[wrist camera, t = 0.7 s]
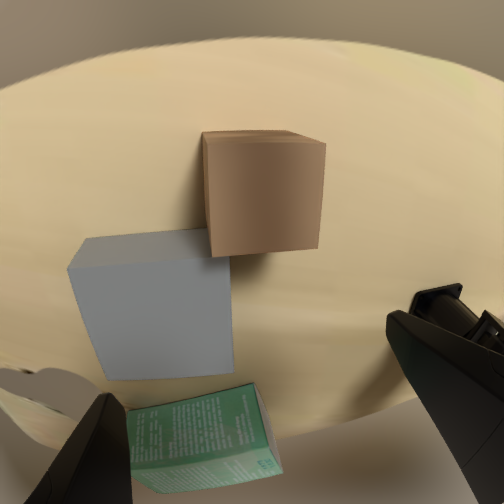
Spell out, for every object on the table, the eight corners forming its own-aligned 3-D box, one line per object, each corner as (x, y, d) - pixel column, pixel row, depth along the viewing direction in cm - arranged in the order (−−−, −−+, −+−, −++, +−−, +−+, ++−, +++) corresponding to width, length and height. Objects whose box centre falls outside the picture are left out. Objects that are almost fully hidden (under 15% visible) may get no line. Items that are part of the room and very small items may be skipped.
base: (221, 226, 20) (229, 255, 16) (226, 335, 24) (234, 372, 20) (86, 238, 18) (66, 268, 15) (115, 342, 22) (107, 380, 19)
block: (286, 130, 18) (326, 143, 13) (283, 207, 20) (317, 248, 15) (202, 132, 17) (207, 144, 12) (205, 212, 19) (212, 257, 14)
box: (123, 409, 27) (119, 474, 20) (253, 378, 27) (271, 447, 21) (156, 442, 30) (158, 498, 24) (269, 415, 31) (287, 473, 24)
